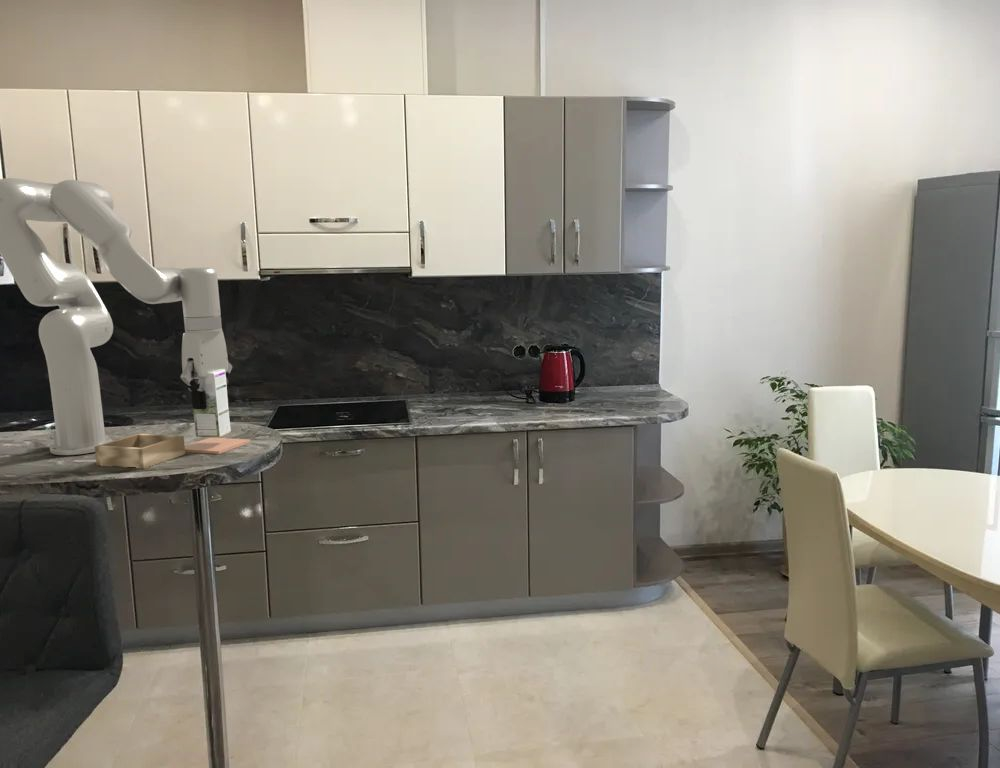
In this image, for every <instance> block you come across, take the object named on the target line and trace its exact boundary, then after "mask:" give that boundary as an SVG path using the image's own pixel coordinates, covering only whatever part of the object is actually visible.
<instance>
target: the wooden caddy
mask: <svg viewBox="0 0 1000 768" xmlns="http://www.w3.org/2000/svg"><path fill="white" fill-rule="evenodd" d="M185 446H186V445H185V437H184V435H175V434H174V435H173V434H153V433H136V434H135V433H134V434H132V435H129V436H125V437H123V438H118V439H115V440H113V441H111V442H108V443H104V444H101V445H98V446H94V447H95V452H94V453H95V463H96V466H98V465H100V467H112V466H123V467H122V468H127V467H136V468H135V469H142V468H144V469H147V468H150V467H152V465H153V466H155V464H156V465H158V464H161V463H163V462H166V461H170V460H172V459H176V458H178V457H180V456H184V455H186V452H185ZM149 466H150V467H149ZM146 467H147V468H146Z"/></svg>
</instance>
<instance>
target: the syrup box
mask: <svg viewBox="0 0 1000 768" xmlns="http://www.w3.org/2000/svg"><path fill="white" fill-rule="evenodd" d="M194 376H198V374H194ZM195 381H196V383H197V384H198V382H199V380H195ZM227 385H228V384H226V373H225V369H220V370H215V371H212V372H210V373H209V374H208V376H207V377H206V378H205V381H204V386H203V390H202V391H205V394H206V405H207V408H206V409H193V408H192V409H193V420H194V428H195V429H194V430H195V437H196V438H199V437H200V438H221V437H223V436H225V435H227V434H228V433H229V434H230V433H231V431H232V429H231V422H230V411H229V410H230V409H229V398H228V389H227V388H228V386H227Z"/></svg>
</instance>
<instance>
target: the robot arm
mask: <svg viewBox="0 0 1000 768" xmlns="http://www.w3.org/2000/svg"><path fill="white" fill-rule="evenodd" d="M114 208H115V207H114V200H113V198H112V195H111V194H110V192H109V191H108V190H107V189H106V188H105V187H103V186H101V185H99V184H97V183H93V182H88V181H83V180H77V179H67V180H61V181H60V182H58V183H48V182H47V183H46V182H39V181H35V180H27V179H22V178H14V177H13V178H12V177H10V178H7V177H6V178H5V177H4V178H0V256H1V258H2V260H3V261H4V263H5V266H6V267H7V268H8V271H9V272H10V274H11V276H12V277H13V279H14V281H15V282H16V284H17V287H18V289H20V292H21V293H22V295H23V296H24V298H25V299H26V301H28V302H29V303H30V304H32V305H33V306H37V307H56V306H58V307H59V308H57V309H54V310H52V311H50V312H48V313H47V314H45V315H44V317H42V319H41V320H40V322H39V325H38V337H39V341H40V344H41V347H42V350H43V353H44V355H45V360H46V361H45V362H46V366H47V372H48V379H49V387H50V394H51V395H50V396H51V402H52V410H53V417H54V426H55V429H52V430H51V431H50V433H49V432H48V433H46V435H45V437H46V438H45V439H47V440H53V445H51V446H50V447H49V453H51V454H52V455H55V456H76V455H84V454H85V455H86V454H92V453H95V447H94V446H98V445H101V444H104V443H108V442H111V441H114V439H113V438H108V437H106V433H105V424H104V414H103V404H102V396H101V388H100V380H99V371H98V364H97V361H96V360H95V359H96V358H95V357H94V355H93V353H92V350H91V348H95V347H98V346H99V347H100V346H102V345H104V344H106V343H107V342H108V341H109V340H110V339H111V337H112V335H113V332H114V323H113V319H112V317H111V314H110V312H109V311H108V309H107V307H106V305H105V303H104V302H103V299H102V298H101V296H100V294H99V293H98V291H97V289H96V287H95V286H94V283H92V281H91V279H90V278H89V276H88V274H87V273H85V271H84V270H83V269H81V268H80V267H78V266H77V265H74V264H72V263H67V262H57V261H55V259H54V258H53V257H52V256H51V254H50V252H49V250H48V249H47V247H46V245H45V243H44V242H43V241H44V240H42V238H41V237H40V236H39V235H38V234H37V233H36V232H35V231H34V230H33V229H32V228H31V227H30V225H29V224H28V223H27V221H35V222H46V223H47V222H49V223H50V222H51V223H52V222H54V223H58V222H59V223H67V224H68V225H69V226H71V227H72V228H73V230H75V231H76V232H77V233H79V235H81V236H82V237H83V238H84V239H85V240H86V241H87V242H88V243H89V244H90V245H91V246H92V247H93V248H94V249H95V250H96V251H97V252H99V254H100V257H101V261H102V262H103V264H104V266H105V267H106V270H108V272H109V274H110V275H111V276H112V277H113V279H115V280H116V282H117V283H119V284H120V285H121V286H122V287H123V288H124V289H125V290H126V291H127V292H128V293H130V294H131V295H132V296H133V297H135V298H136V299H137V300H139V301H141V302H143V303H145V304H150V305H156V304H163V303H164V304H169V303H176V302H182V310H183V311H182V313H183V323H184V331H185V332H183V334H182V340H181V341H182V342H181V368H182V373H181V374H180V380H182V382H184V385H185V386H186V387H187V389H188V391H189V392H190V393H191V404H192V409H206V408H207V405H206V394H205V391H202V390H203V386H204V381H205V378H206V377H207V376H208V374H209V373H210V372H212V371H215V370H220V369H225V373H226V384H227V385H229V378H230V376H231V375H230V374H231V371H232V370H233V365H232V363H230V362H229V359H228V350H227V344H226V339H225V334H224V331H223V328H222V326H223V325H222V316H221V304H220V293H219V283H218V282H219V281H218V280H219V279H218V273H217V271H216V269H214V268H212V267H187V268H175V267H155V266H153V265H152V264H151V263H149V261H147V260H146V259H145V258H144V257H143V256H142V255H141V254H140V253H139V252H138V251H137V250H136V249H135V248H134V246H133V245H132V242H131V241H130V238H131V236H132V232H133V231H132V226H131V225H130V224H129V223H128V222H127V221H126V220H125V219H123V218H122V217H121V216H120V215H119V214H118V213H117V212H116V211H115V210H114ZM194 374H198V376H194ZM195 380H199V382H198V384H197V383H196V381H195Z"/></svg>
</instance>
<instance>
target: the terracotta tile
mask: <svg viewBox="0 0 1000 768" xmlns="http://www.w3.org/2000/svg"><path fill="white" fill-rule="evenodd" d="M249 443H251V439H248V438H247V439H245V438H230V437H228V438H225V437H206V438H204V439H201V440H198V441H195V442H192V443H190V444H187V445H184V446H185V453H196V454H198V453H199V454H213V455H214V454H216V455H220V454H223V453H225V452H227V451H230V450H233V449H236V448H239V447H240V446H241V447H242V446H243V445H244V446H245V445H247V444H249Z"/></svg>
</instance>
